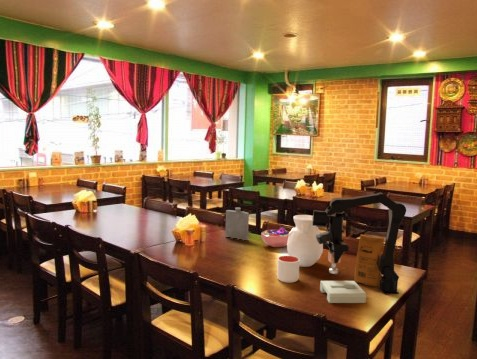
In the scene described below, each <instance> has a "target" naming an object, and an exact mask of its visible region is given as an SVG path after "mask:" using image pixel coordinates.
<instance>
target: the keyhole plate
mask: <svg viewBox="0 0 477 359" xmlns="http://www.w3.org/2000/svg"><path fill="white" fill-rule="evenodd" d="M319 282H320V285H319V291H320V292H321V293H322V294H324V293H325V294H326V301H328V304H334V303H335V304H364V303H365V304H366V303H367V302H366V301H367V293H366V292H365V290H364V289H362V287H361V286H359V284H358V283H357V282H355V280H320V281H319Z"/></svg>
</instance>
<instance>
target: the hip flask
mask: <svg viewBox="0 0 477 359" xmlns="http://www.w3.org/2000/svg"><path fill="white" fill-rule="evenodd" d="M234 209H235V210H231V209H227V210H225V238H226V237H231V238H230V239H233V238H237V239H236V240H239V239H242V240H241V241H244V240H248V241H249V223H250V222H249V221H250V220H249V219H250V218H249V216H250V212H246V211H244V210H243V211H242V210H241V209H242V208H241V207H239V206H238V207H234Z"/></svg>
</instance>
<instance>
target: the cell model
mask: <svg viewBox="0 0 477 359" xmlns="http://www.w3.org/2000/svg"><path fill="white" fill-rule="evenodd" d="M290 231H291V230H286V228H285V227H282V226H280V227H279V229H267V230H264V231H262V232H261V234H260V235H261V240H262V241H263V243H265V244H266V245H267V246H269V247H272V248H284V247H285V246H287V242H288V237H289V232H290Z"/></svg>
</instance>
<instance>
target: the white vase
mask: <svg viewBox="0 0 477 359" xmlns="http://www.w3.org/2000/svg"><path fill="white" fill-rule="evenodd" d="M312 219H313V215H310V214H296V215H293V222H294V224H295V227H292V229H291V230H289V231H290V232H289V237H288V242H287V245H286V250H287V253H288V256H294V257H297V258H299V260H300V262H299V267H301V268H302V267H304V268H305V267H306V268H308V267H312V266H313V265H315V263H317V262H318V261H319V260H320V258H321V256H322V254H323V251H324V243H323V244H319V243H318V242H317V239H316V235H317V234H320V233H322V232H321V230H320V229H319V226H313V225H312Z"/></svg>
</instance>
